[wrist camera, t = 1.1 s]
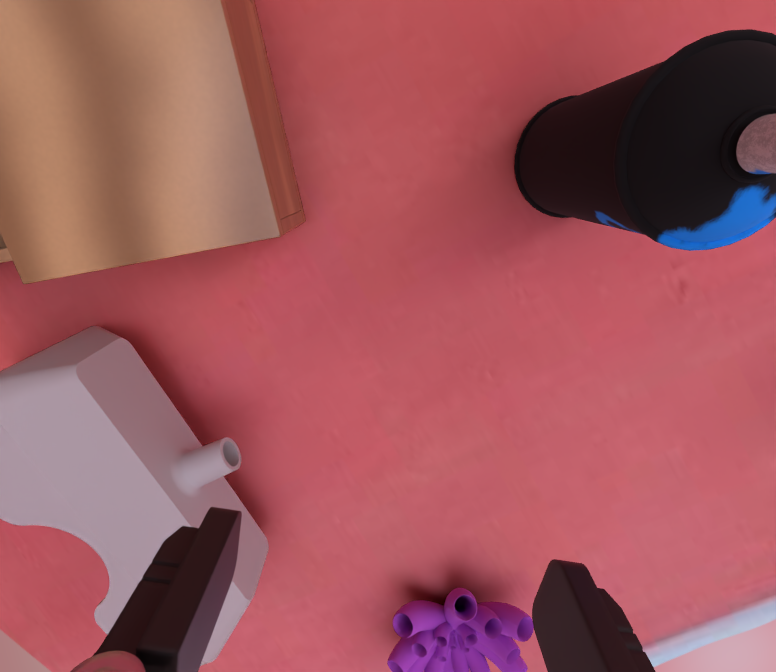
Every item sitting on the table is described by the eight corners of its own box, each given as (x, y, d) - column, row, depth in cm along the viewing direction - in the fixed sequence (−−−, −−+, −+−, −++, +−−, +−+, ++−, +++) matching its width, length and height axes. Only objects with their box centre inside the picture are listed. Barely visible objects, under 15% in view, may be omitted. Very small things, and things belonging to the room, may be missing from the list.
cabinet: (107, 258, 36) (23, 284, 27) (24, 41, 31) (-111, -8, 22) (306, 221, 35) (280, 236, 26) (252, -9, 30) (200, -79, 21)
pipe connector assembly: (385, 598, 52) (354, 630, 43) (505, 546, 49) (498, 568, 40) (428, 711, 48) (404, 771, 39) (561, 660, 46) (566, 712, 37)
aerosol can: (500, 121, 32) (660, 49, 14) (616, 77, 31) (959, -65, 13) (528, 232, 35) (694, 303, 16) (636, 195, 34) (945, 222, 15)
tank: (320, 517, 44) (296, 643, 32) (179, 571, 46) (108, 708, 34) (173, 285, 36) (70, 339, 25) (12, 364, 39) (-152, 449, 27)
